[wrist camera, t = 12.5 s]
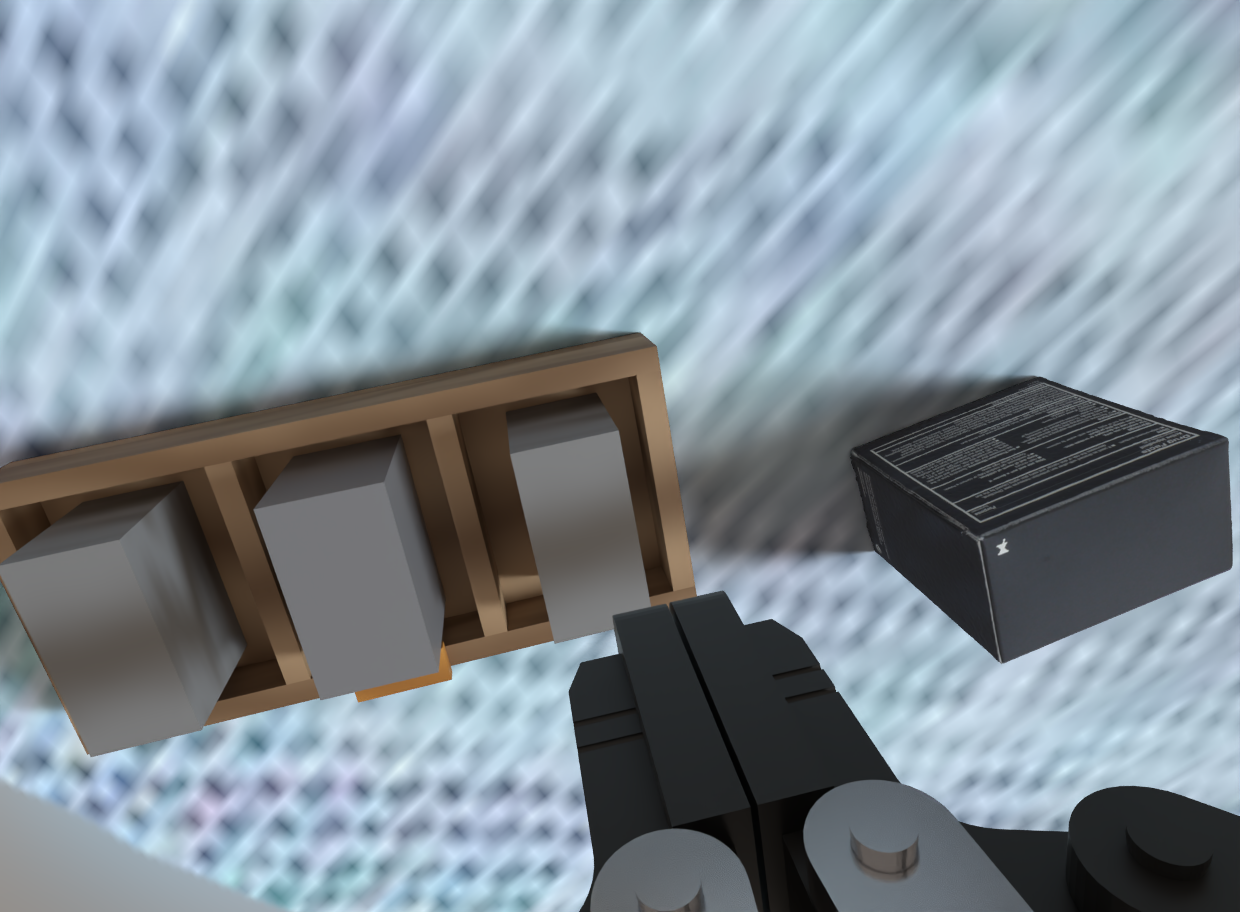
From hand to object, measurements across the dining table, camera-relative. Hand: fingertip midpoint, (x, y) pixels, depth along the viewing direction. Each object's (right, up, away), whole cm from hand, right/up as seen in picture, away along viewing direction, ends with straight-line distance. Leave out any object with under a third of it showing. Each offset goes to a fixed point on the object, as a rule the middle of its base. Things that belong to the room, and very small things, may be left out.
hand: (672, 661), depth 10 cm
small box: (+16, +2, +29) cm, 33 cm away
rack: (-12, 0, +25) cm, 27 cm away
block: (-12, -1, +24) cm, 26 cm away
